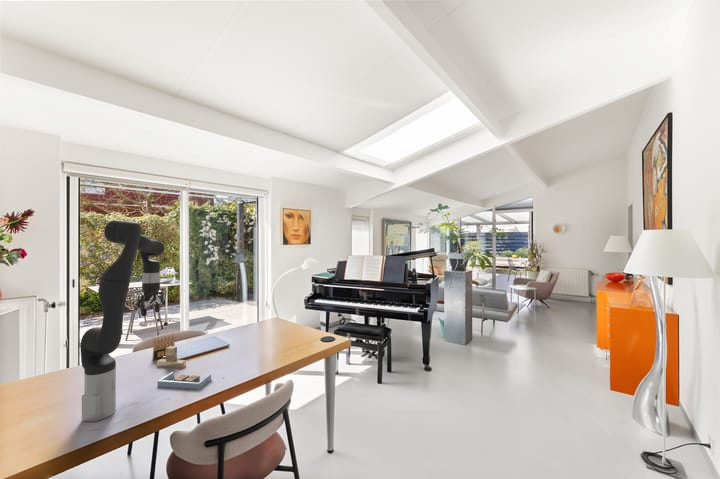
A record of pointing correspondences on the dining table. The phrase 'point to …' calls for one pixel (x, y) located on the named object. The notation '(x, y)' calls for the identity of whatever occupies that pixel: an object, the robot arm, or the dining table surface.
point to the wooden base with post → (171, 359)
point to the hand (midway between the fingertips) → (150, 313)
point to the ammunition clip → (161, 351)
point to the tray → (179, 384)
